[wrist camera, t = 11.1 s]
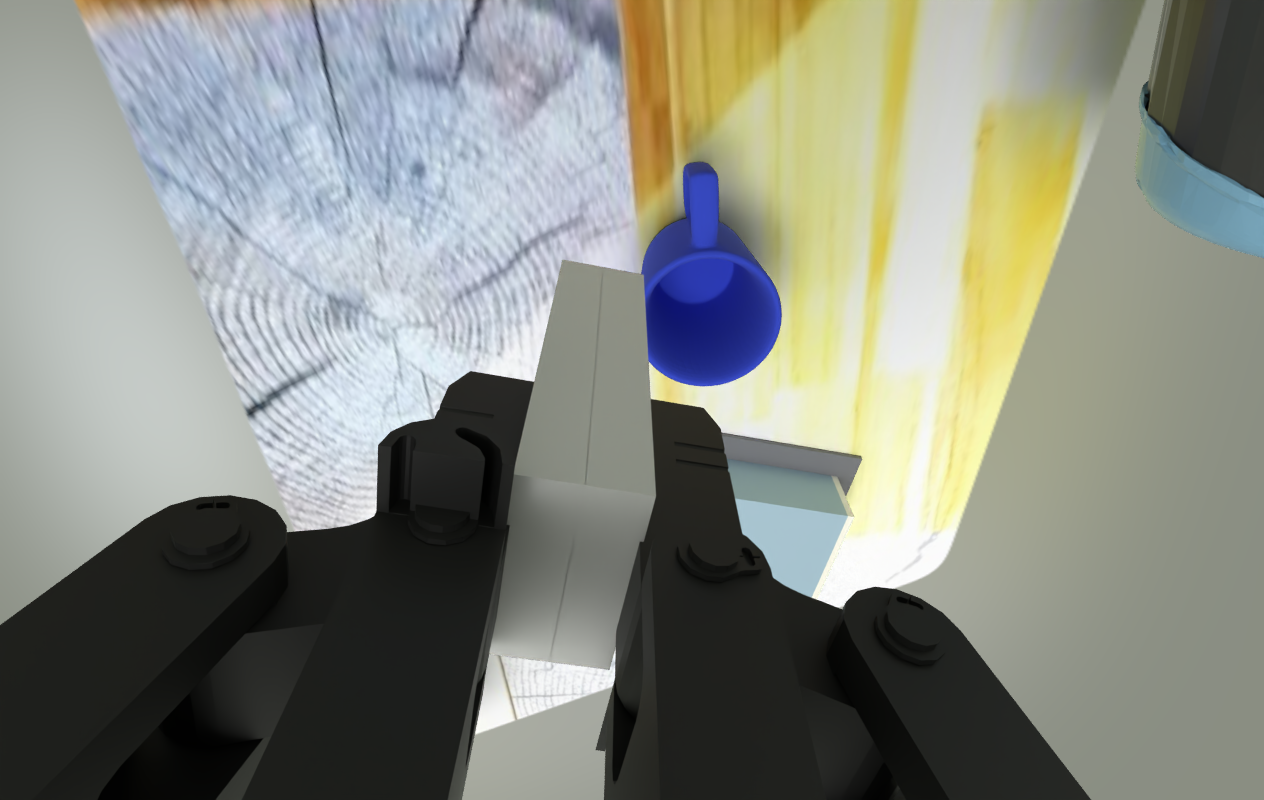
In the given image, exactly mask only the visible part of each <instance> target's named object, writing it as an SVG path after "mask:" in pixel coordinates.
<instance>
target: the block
mask: <svg viewBox="0 0 1264 800" xmlns="http://www.w3.org/2000/svg"><path fill="white" fill-rule="evenodd" d="M727 462H728V467H729V468H728V472H730V477H731V481H732V486H733V491H734V496H735V501H736V505H737V510H738V515H739V520H740V525H741V529H742V534H743V535H745V536H747V537H748V538H749V539H750V540H751V541H752V542H753V543H754V544H755V545H756V546H757V547H758V548H759V549H760V550H761V551H762V552H763V554H764V556H765V558H766V560H767V562H768V564H769V566H770V568H771V571H772V576H773V578H774V579H776V580H777V581H779V582H780V583H782V584H783V585H785V586H787V587H789V588H791V589H793V590H795V591H797V592H799V593H801V594H804V595H806V596H809V597H811V598H814V599H816V600H817V599H818V597H819V594H820V592H821V590H822V588H823V586H824V583H825V581H826V579H827V577H828V575H829V572H830V570H831V568H832V566H833V563H834V561H835V559H836V557H837V555H838V552H839V550H840V548H841V546H842V544H843V541H844V539H845V537H846V535H847V533H848V530H849V528H850V526H851V524H852V522H853V519H854V515H853V513H852V510H851V508H850V506H849V503H848V501H847V499H846V496H845V494H844V492H843V489H842V487H841V485H840V482H839V480H838V477H836V476H829V475H823V474H817V473H811V472H805V471H799V470H793V469H787V468H781V467H774V466H768V465H762V464H756V463H750V462H744V461H738V460H732V459H727Z"/></svg>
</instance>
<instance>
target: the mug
mask: <svg viewBox="0 0 1264 800" xmlns="http://www.w3.org/2000/svg"><path fill="white" fill-rule="evenodd" d="M683 192H684V207H685V213H686V219H682V220H679V221H676V222H674V223H672V224H670V225H668V226H667V227H665V228H664V229H663V230H662V231H660V232H659V233H658V234H657V235H656V237H655V238H654V239H653V240H652V242H651V244H650V245H649V247H648V249H647V251H646V254H645V257H644V261H643V266H642V272H641V274H642V275H644V291H645V308H646V326H647V344H648V361H649V362H650V363H651V364H652V365H653V366H654V367H655V368H656V369H657V370H658V371H659V372H661V373H662V374H664V375H665V376H667V377H669V378H671V379H673V380H675V381H678V382H681V383H684V384H688V385H694V386H714V385H720V384H724V383H728V382H731V381H734V380H736V379H738V378H740V377H742V376H744V375H746V374H748V373H749V372H750V371H752V370H753V369H754V368H756V367H757V366H758V365H759V364H760V363H761V362H762V361H763V360H764V359H765V358H766V356H767V355H768V354H769V352H770V351H771V349H772V348H773V346H774V344H775V342H776V339H777V337H778V334H779V330H780V326H781V317H782V312H781V303H780V299H779V295H778V292H777V290H776V287H775V286H774V284H773V282H772V280H771V279H770V277H769V276H768V275H767V273H766V272H765V271H764V270H763V268H762V267H761V266H760V264H759V263H758V262H757V260H756V259H755V258H754V256H753V255H752V254H751V252H750V251H749V250H748V249H747V247H746V246H745V245H744V243H743V242H742V241H741V239H740V238H739V237H738V236H737V235H736V233H735V232H734V231H732V230H731V229H730V228H729V227H727V226H726V225H724V224H722V223H720V222H718V220H719V188H718V176H717V173H716V172H715V170H714V169H713V168H712V167H711V166H710V165H709V164H707V163H704V162H693V163H689V164H687V165H685V167H684V171H683Z"/></svg>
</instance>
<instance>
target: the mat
mask: <svg viewBox="0 0 1264 800" xmlns="http://www.w3.org/2000/svg"><path fill="white" fill-rule="evenodd" d="M722 438H723V443H724V448H725V451H724V454H726V457H727V459H732V460H738V461H744V462H750V463H756V464H762V465H768V466H774V467H781V468H787V469H793V470H799V471H805V472H811V473H817V474H823V475H829V476H836V477H838V480H839V482H840V485H841V487H842V489H843V492H844V494H845V496H846V495H847V493H848V490H849V488H850V486H851V483H852V481H853V479H854V477H855V474H856V472H857V470H858V467H859V465H860V463H861V461H862V458H861V456H856V455H850V454H844V453H838V452H832V451H826V450H820V449H814V448H808V447H802V446H796V445H790V444H784V443H778V442H772V441H766V440H760V439H754V438H748V437H742V436H736V435H730V434H724V433H722Z"/></svg>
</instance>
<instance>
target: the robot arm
mask: <svg viewBox="0 0 1264 800" xmlns="http://www.w3.org/2000/svg"><path fill="white" fill-rule="evenodd" d="M1139 108H1140V114H1141V118H1142V123H1141V130H1140V137H1139V144H1138V150H1137V157H1136V166H1135V173H1136V181H1137V184H1138V186H1139V187H1140V189H1141V190H1142V192H1143V194H1144V195H1145V198H1146V201H1147V202H1148V204H1149V205H1150V206H1151V207H1152V208H1153V209H1154V210H1155V211H1156V212H1157V213H1158V214H1160V215H1161V216H1162V217H1163V218H1164V219H1166V220H1167V221H1169V222H1170V223H1172V224H1174V225H1175V226H1177V227H1179V228H1180V229H1182V230H1184V231H1186V232H1188V233H1190V234H1192V235H1194V236H1197V237H1200V238H1202V239H1204V240H1207V241H1209V242H1212V243H1214V244H1217V245H1220V246H1223V247H1226V248H1229V249H1232V250H1235V251H1239V252H1243V253H1246V254H1250V255H1254V256H1257V257H1262V258H1264V0H1164V5H1163V10H1162V16H1161V21H1160V26H1159V31H1158V36H1157V41H1156V46H1155V51H1154V56H1153V61H1152V67H1151V72H1150V76H1149V81H1148V82H1146V84H1144V85H1143V88H1142V92H1141V95H1140V101H1139ZM724 451H725V448H724V443H723V438H722V433H721V429H720V427H719V426H718V425H717V424H716V422H715V421H714V420H713V419H712V418H711V416H710V415H709V414H708V413H707V412H706V410H705V409H704V408H701V407H695V406H689V405H683V404H677V403H671V402H665V401H659V400H653V399H651V398H650V380H649V362H648V344H647V326H646V308H645V291H644V275H642V274H637V273H631V272H626V271H621V270H615V269H610V268H605V267H599V266H594V265H589V264H583V263H578V262H572V261H567V260H562V264H561V269H560V273H559V277H558V282H557V286H556V290H555V295H554V299H553V303H552V308H551V312H550V316H549V321H548V325H547V329H546V334H545V338H544V342H543V347H542V351H541V355H540V360H539V364H538V368H537V372H536V377H535V381H534V382H532V381H526V380H520V379H514V378H508V377H502V376H496V375H490V374H484V373H478V372H472V371H470V372H469V373H467V374H466V375H464V376H463V377H461V378H460V379H458V380H457V381H455V382H454V383H452V384H451V385H450V386H449V387H448V389H447V391H446V394H445V396H444V398H443V400H442V403H441V405H440V409H439V410H438V412H437V414H436V416H435V419H430V420H424V421H418V422H412V423H409V424H407V425H405V426H402V427H400V428H398V429H396V430H394V431H391V432H390V433H389V434H388V435H387V436H386V437H385V438H384V440H383V441H382V442H381V443H380V444H379V445H378V475H377V511H376V514H375V516H374V517H372V518H370V519H368V520H365V521H362V522H359V523H356V524H353V525H350V526H344V527H337V528H331V529H321V530H308V531H296V532H287V529H286V528H287V527H286V524H285V523H284V521H283V520H282V518H281V517H280V515H279V514H278V512H276V510H274V509H272V508H271V507H269V506H267V505H265V504H263V503H261V502H259V501H257V500H254V499H247V498H242V497H236V496H231V495H229V496H213V497H199V498H196V499H192V500H188V501H185V502H181V503H178V504H174V505H171V506H168V507H167V508H165V509H163V510H161V511H159V512H157V513H156V514H154V515H152V516H150V517H148V518H146V519H144V520H143V521H142V522H140V523H139V524H138V525H136V526H135V527H133V528H132V529H131V530H130V531H128V532H127V533H125V534H124V535H123V536H121V537H120V538H118V539H117V540H116V541H114V542H113V543H112V544H110V545H109V546H108V547H106V548H105V549H104V550H102V551H101V552H99V553H98V554H97V555H95V556H94V557H93V558H91V559H90V560H89V561H87V562H86V563H84V564H83V565H82V566H80V567H79V568H78V569H76V570H75V571H73V572H72V573H71V574H69V575H68V576H67V577H65V578H64V579H62V580H61V581H60V582H58V583H57V584H56V585H54V586H53V587H52V588H50V589H49V590H48V591H46V592H45V593H43V594H42V595H41V596H39V597H38V598H37V599H35V600H34V601H33V602H31V603H30V604H29V605H27V606H26V607H24V608H23V609H22V610H20V611H19V612H17V613H16V614H15V615H13V616H12V617H11V618H9V619H8V620H7V621H5V622H4V623H2V624H1V625H0V800H462V796H463V791H464V785H465V780H466V775H467V770H468V765H469V760H470V755H471V750H472V745H473V739H474V735H475V730H476V725H477V720H478V715H479V710H480V705H481V700H482V695H483V688H484V681H485V674H486V667H487V662H488V657H489V654H491V655H499V656H506V657H514V658H522V659H530V660H538V661H545V662H553V663H561V664H569V665H576V666H584V667H592V668H600V669H608V670H610V666H611V662H612V658H613V655H614V651H615V647H616V662H615V681H614V685H613V688H612V692H611V695H610V699H609V703H608V706H607V710H606V713H605V717H604V721H603V724H602V728H601V732H600V735H599V739H598V743H597V747H596V750H600V751H605V749H606V754H605V755H606V756H605V786H604V788H605V789H604V800H1091V799H1090V798H1089V797H1088V795H1087V794H1086V793H1085V791H1084V790H1083V789H1082V787H1081V786H1080V785H1079V784H1078V782H1077V781H1076V780H1075V778H1074V777H1073V776H1072V774H1071V773H1070V772H1069V771H1068V769H1067V768H1066V767H1065V765H1064V764H1063V763H1062V762H1061V760H1060V759H1059V758H1058V756H1057V755H1056V754H1055V752H1054V751H1053V750H1052V749H1051V747H1050V746H1049V745H1048V743H1047V742H1046V741H1045V740H1044V738H1043V737H1042V736H1041V735H1040V733H1039V732H1038V731H1037V729H1036V728H1035V727H1034V725H1033V724H1032V723H1031V721H1030V720H1029V719H1028V717H1027V716H1026V715H1025V714H1024V712H1023V711H1022V710H1021V708H1020V707H1019V706H1018V705H1017V703H1016V702H1015V701H1014V699H1013V698H1012V697H1011V695H1010V694H1009V693H1008V692H1007V690H1006V689H1005V688H1004V686H1003V685H1002V684H1001V682H1000V681H999V680H998V679H997V677H996V676H995V675H994V673H993V672H992V671H991V670H990V668H989V667H988V666H987V664H986V663H985V662H984V660H983V659H982V658H981V656H980V655H979V654H978V653H977V651H976V650H975V649H974V647H973V646H972V645H971V644H970V642H969V641H968V640H967V638H966V637H965V636H964V634H963V633H962V632H961V631H960V630H959V629H958V628H957V627H956V626H955V625H954V624H953V623H952V622H951V621H950V620H949V619H948V618H947V617H946V616H945V615H944V614H943V613H942V612H941V611H939V610H937V609H936V608H934V607H933V606H931V605H930V604H928V603H927V602H925V601H923V600H922V599H920V598H918V597H915V596H913V595H910V594H907V593H905V592H902V591H900V590H897V589H889V588H880V587H872V588H868V589H864V590H860V591H857V592H856V593H855V594H854V595H853V596H852V597H851V598H850V599H849V600H848V601H847V602H846V603H845V605H844V607H843V610H842V609H839V608H837V607H834V606H832V605H829V604H827V603H824V602H822V601H819V600H816V599H814V598H811V597H809V596H806V595H804V594H801V593H799V592H797V591H795V590H793V589H791V588H789V587H787V586H785V585H783V584H782V583H780V582H779V581H777V580H776V579H774V578H773V576H772V571H771V568H770V566H769V564H768V562H767V560H766V558H765V556H764V554H763V552H762V551H761V550H760V549H759V548H758V547H757V546H756V545H755V544H754V543H753V542H752V541H751V540H750V539H749V538H748V537H747V536H745V535H743V534H742V529H741V525H740V520H739V515H738V510H737V505H736V501H735V496H734V491H733V486H732V481H731V477H730V472H728V468H729V467H728V462H727V457H726V454H724Z"/></svg>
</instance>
